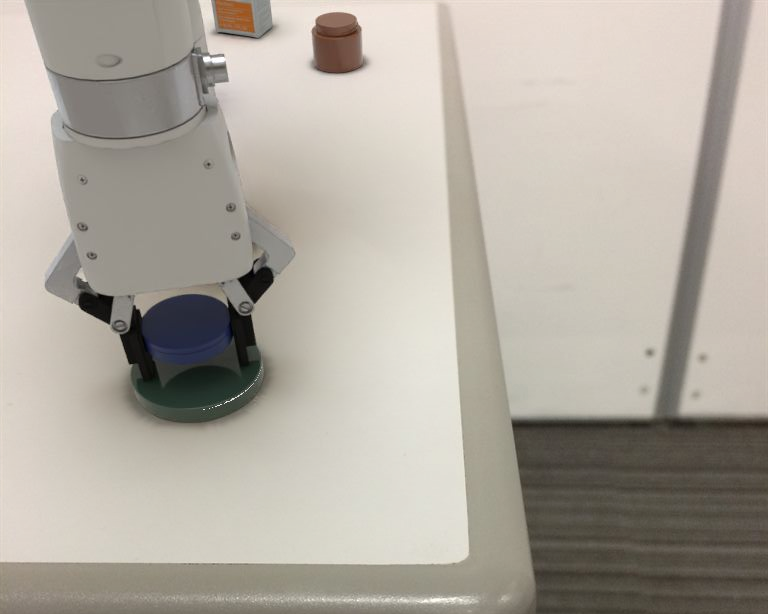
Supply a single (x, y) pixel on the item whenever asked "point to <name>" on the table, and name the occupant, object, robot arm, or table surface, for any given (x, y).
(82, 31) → the robot arm
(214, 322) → the jar lid
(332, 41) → the jar
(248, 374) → the coaster
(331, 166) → the table surface
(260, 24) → the cosmetic box
